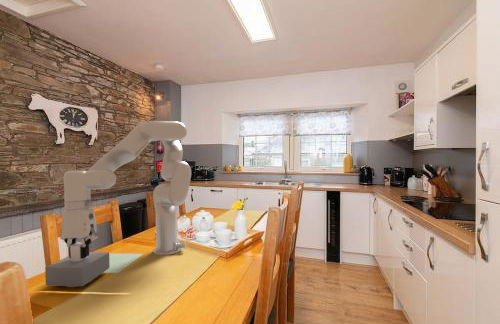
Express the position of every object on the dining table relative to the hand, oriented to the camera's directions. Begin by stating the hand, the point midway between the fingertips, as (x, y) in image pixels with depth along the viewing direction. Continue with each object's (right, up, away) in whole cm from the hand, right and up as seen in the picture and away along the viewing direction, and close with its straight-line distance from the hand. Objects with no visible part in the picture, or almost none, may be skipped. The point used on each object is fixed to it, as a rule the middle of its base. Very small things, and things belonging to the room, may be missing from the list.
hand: (79, 256), depth 84 cm
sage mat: (+3, -9, +15) cm, 18 cm away
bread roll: (0, -10, 0) cm, 10 cm away
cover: (0, -7, 0) cm, 7 cm away
